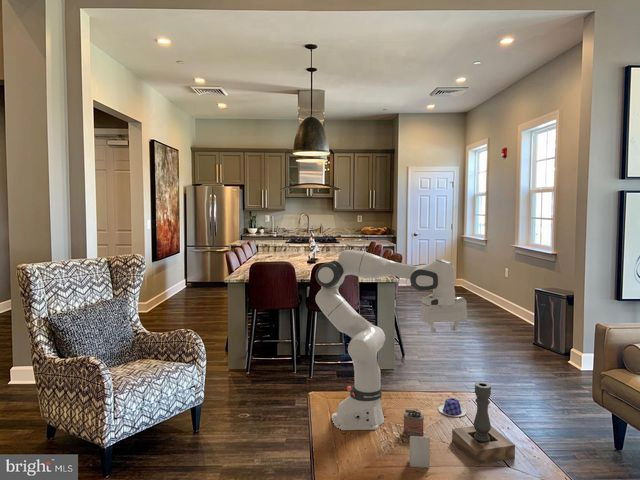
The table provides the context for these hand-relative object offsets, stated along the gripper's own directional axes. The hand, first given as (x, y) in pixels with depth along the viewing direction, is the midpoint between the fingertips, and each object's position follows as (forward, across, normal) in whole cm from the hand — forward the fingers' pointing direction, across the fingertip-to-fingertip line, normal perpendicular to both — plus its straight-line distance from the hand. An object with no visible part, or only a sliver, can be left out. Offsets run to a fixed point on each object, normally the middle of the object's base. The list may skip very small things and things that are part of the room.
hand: (443, 331), depth 185 cm
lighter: (+39, +16, +6) cm, 43 cm away
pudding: (+40, -9, -8) cm, 41 cm away
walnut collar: (+39, -4, +23) cm, 45 cm away
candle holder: (+39, -4, +23) cm, 46 cm away
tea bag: (+39, +23, +26) cm, 52 cm away
